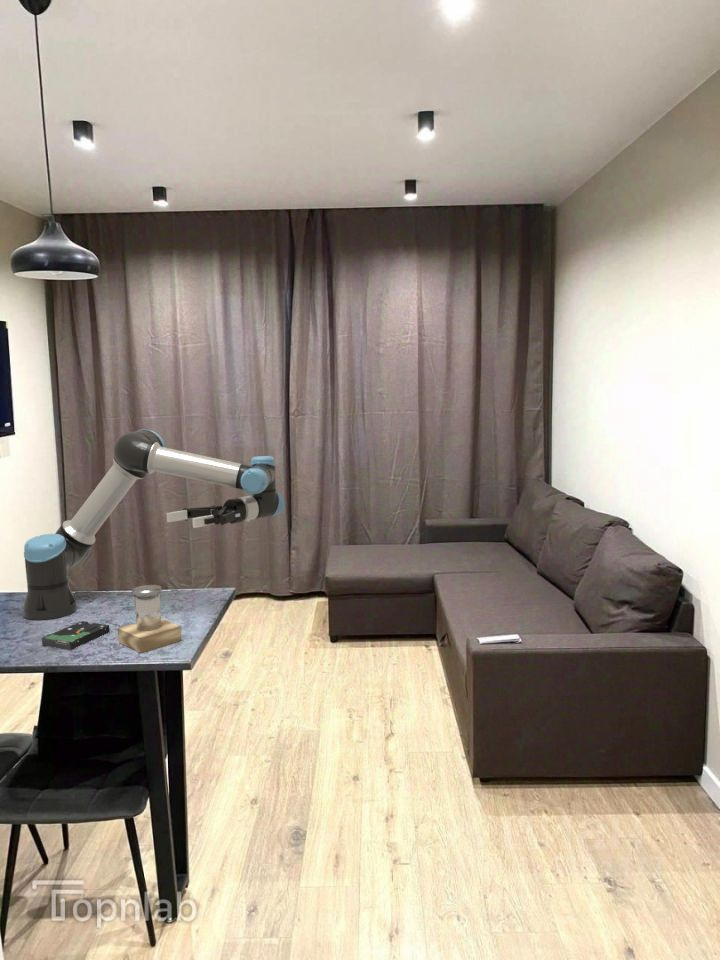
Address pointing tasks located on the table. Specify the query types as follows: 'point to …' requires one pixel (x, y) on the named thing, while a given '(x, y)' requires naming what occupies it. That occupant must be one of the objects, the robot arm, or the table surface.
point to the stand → (149, 636)
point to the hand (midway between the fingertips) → (180, 520)
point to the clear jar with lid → (147, 607)
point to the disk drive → (75, 635)
